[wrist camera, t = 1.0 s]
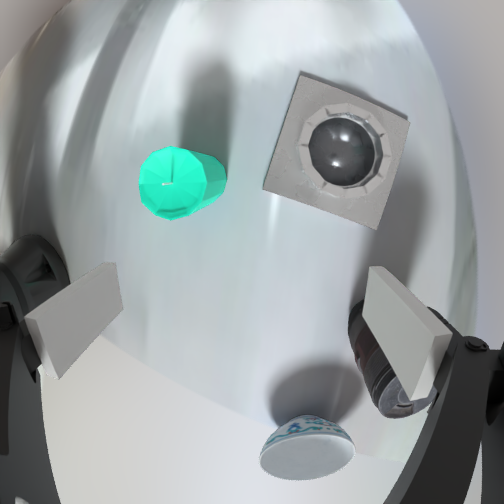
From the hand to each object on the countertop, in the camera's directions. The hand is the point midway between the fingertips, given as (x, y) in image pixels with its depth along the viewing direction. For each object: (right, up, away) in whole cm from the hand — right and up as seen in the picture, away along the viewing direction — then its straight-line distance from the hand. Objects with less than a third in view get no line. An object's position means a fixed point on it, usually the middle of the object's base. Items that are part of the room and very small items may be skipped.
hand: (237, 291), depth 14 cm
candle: (-5, +10, +18) cm, 21 cm away
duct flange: (+11, +13, +16) cm, 23 cm away
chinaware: (+10, -28, +28) cm, 40 cm away
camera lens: (+17, -7, +21) cm, 28 cm away
